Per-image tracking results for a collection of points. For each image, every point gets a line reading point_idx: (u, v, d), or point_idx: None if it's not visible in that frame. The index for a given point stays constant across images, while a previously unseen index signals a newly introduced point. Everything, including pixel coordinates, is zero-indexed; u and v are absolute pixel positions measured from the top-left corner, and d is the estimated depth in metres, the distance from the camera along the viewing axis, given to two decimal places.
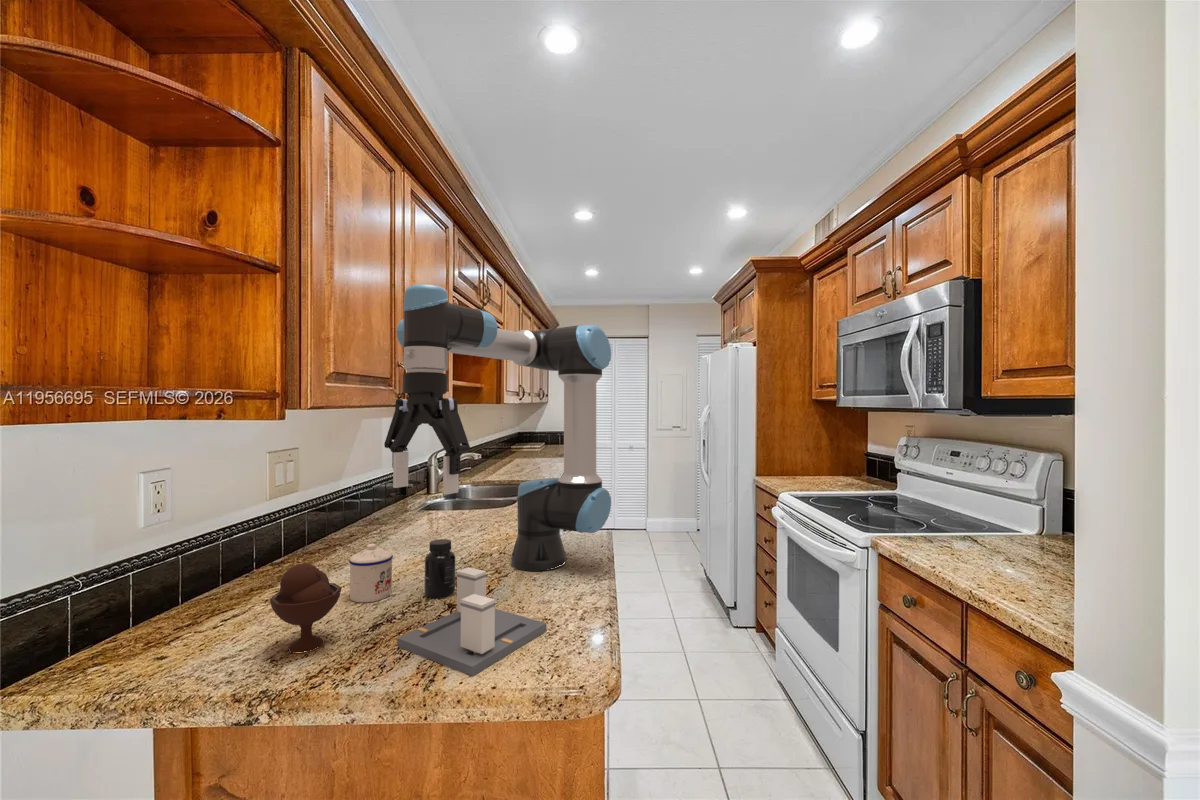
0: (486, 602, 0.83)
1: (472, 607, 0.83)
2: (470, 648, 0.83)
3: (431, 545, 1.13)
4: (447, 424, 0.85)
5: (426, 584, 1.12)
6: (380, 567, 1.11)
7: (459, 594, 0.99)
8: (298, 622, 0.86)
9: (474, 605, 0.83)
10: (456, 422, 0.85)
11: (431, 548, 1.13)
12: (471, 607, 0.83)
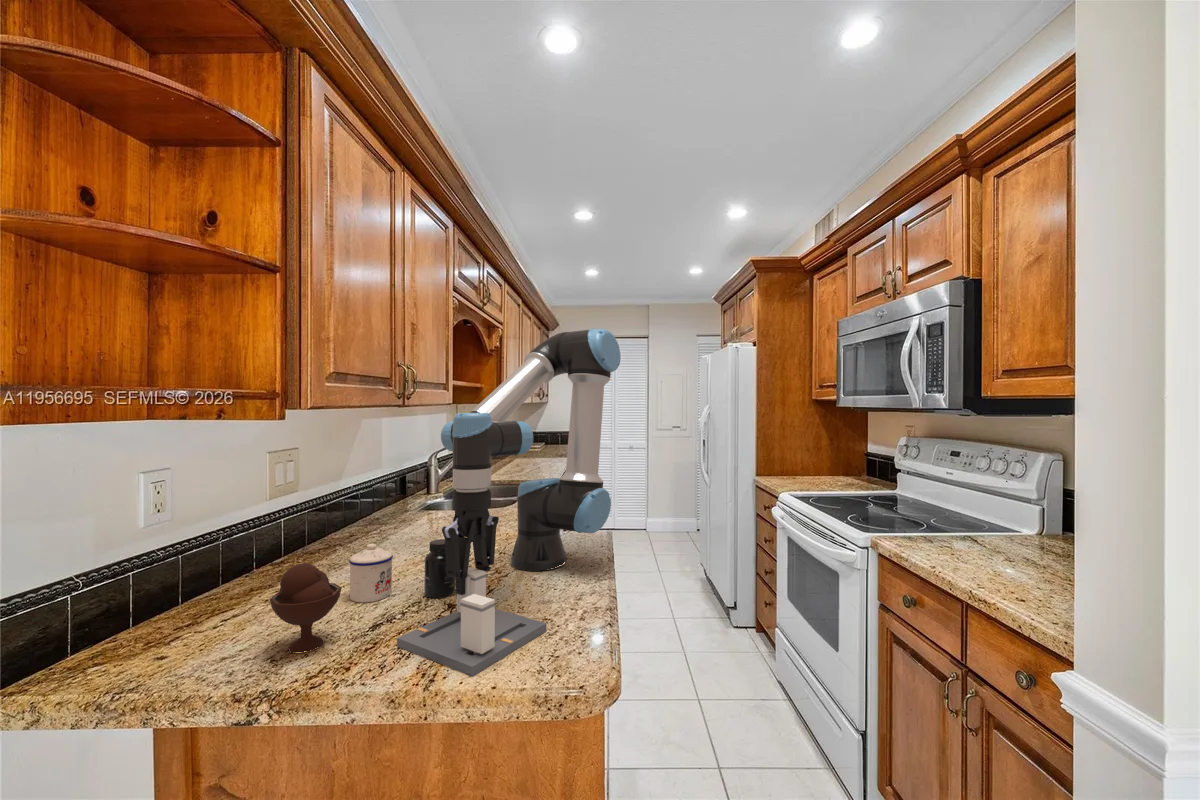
0: (486, 602, 0.83)
1: (472, 607, 0.83)
2: (470, 648, 0.83)
3: (431, 545, 1.13)
4: None
5: (426, 584, 1.12)
6: (380, 567, 1.11)
7: None
8: (298, 622, 0.86)
9: (474, 605, 0.83)
10: (450, 551, 0.95)
11: (431, 548, 1.13)
12: (471, 607, 0.83)
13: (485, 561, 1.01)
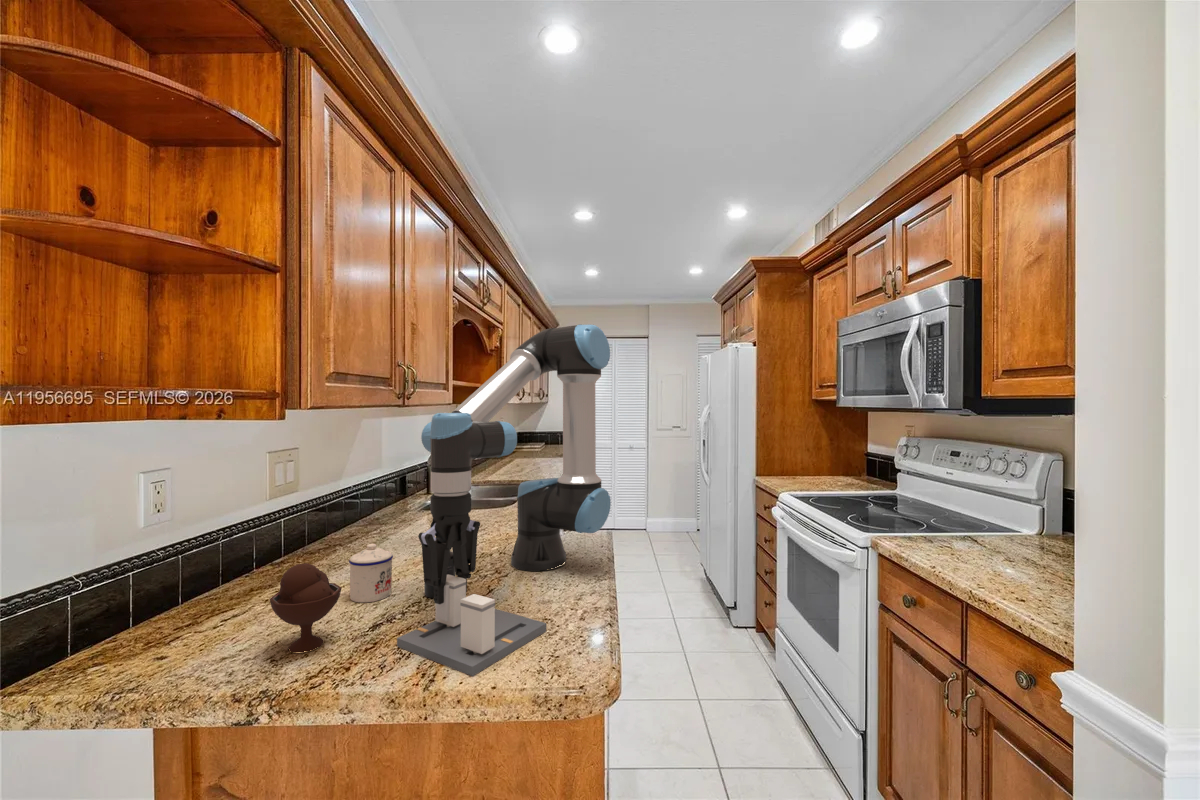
0: (486, 602, 0.83)
1: (472, 607, 0.83)
2: (470, 648, 0.83)
3: None
4: None
5: (426, 584, 1.12)
6: (380, 567, 1.11)
7: None
8: (298, 622, 0.86)
9: (474, 605, 0.83)
10: (427, 558, 0.90)
11: None
12: (471, 607, 0.83)
13: (465, 568, 0.97)
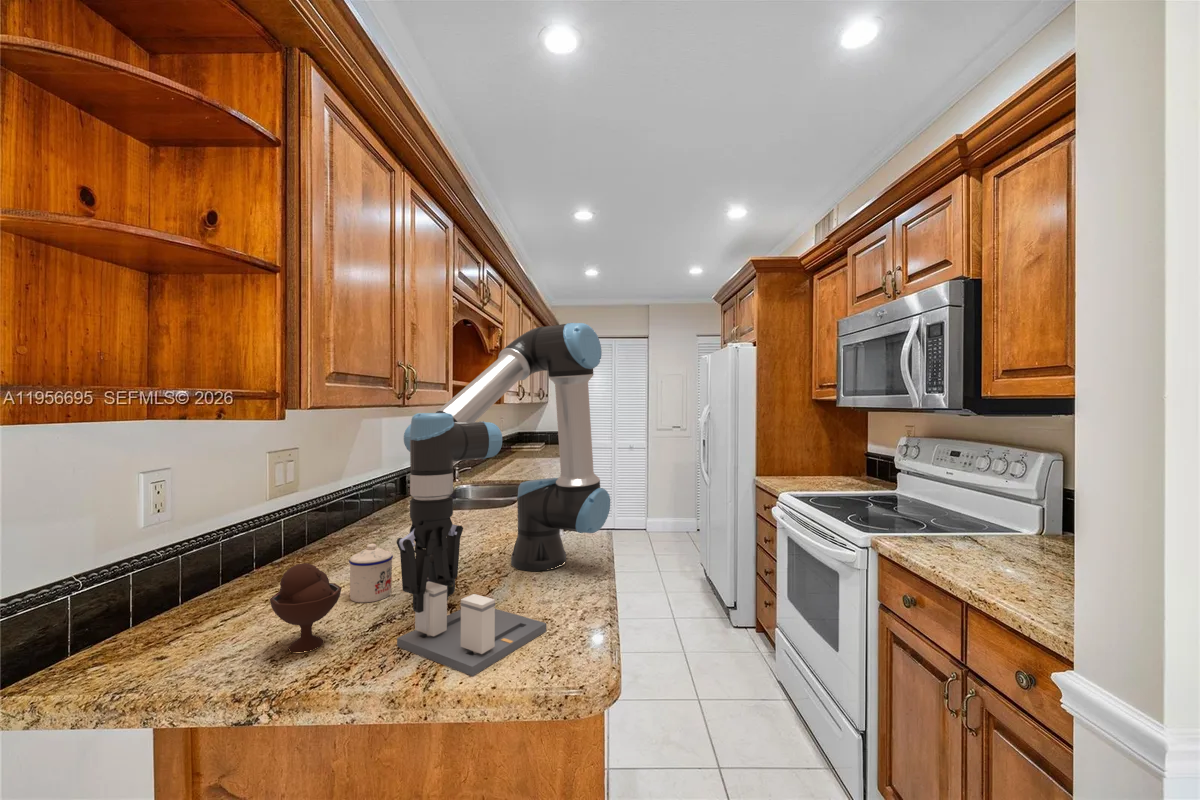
0: (486, 602, 0.83)
1: (472, 607, 0.83)
2: (470, 648, 0.83)
3: None
4: None
5: None
6: (380, 567, 1.11)
7: None
8: (298, 622, 0.86)
9: (474, 605, 0.83)
10: (405, 564, 0.86)
11: None
12: (471, 607, 0.83)
13: (447, 575, 0.93)
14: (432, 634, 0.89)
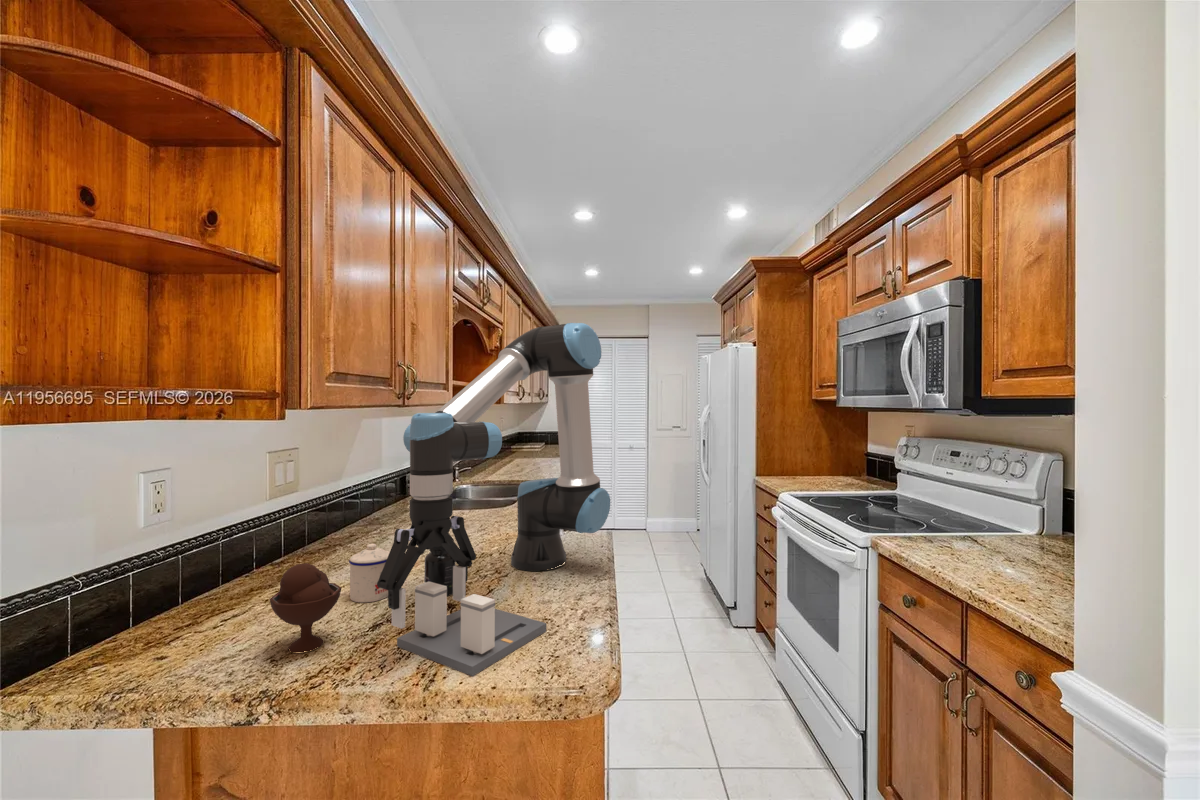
0: (486, 602, 0.83)
1: (472, 607, 0.83)
2: (470, 648, 0.83)
3: None
4: None
5: None
6: (380, 567, 1.11)
7: (417, 611, 0.91)
8: (298, 622, 0.86)
9: (474, 605, 0.83)
10: (393, 556, 0.84)
11: None
12: (471, 607, 0.83)
13: (464, 558, 0.96)
14: (432, 634, 0.89)
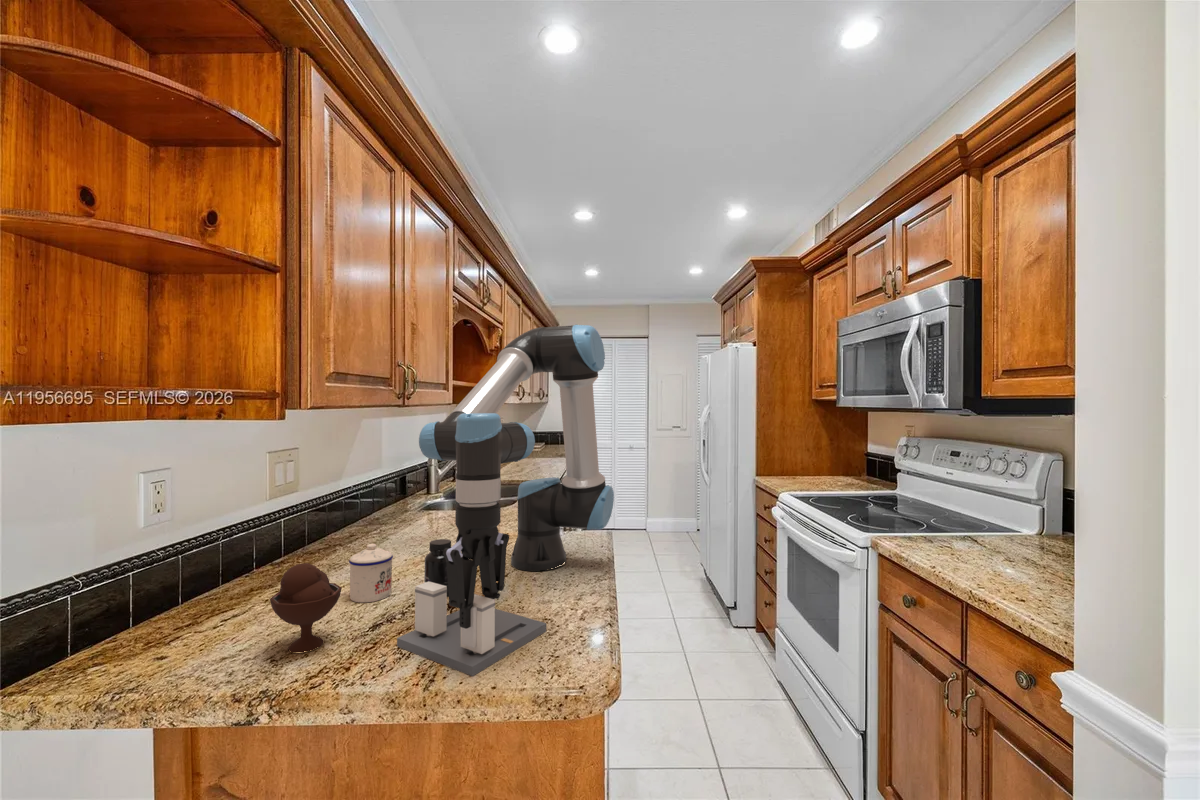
0: (486, 602, 0.83)
1: None
2: (470, 648, 0.83)
3: (431, 545, 1.13)
4: None
5: None
6: (380, 567, 1.11)
7: (417, 611, 0.91)
8: (298, 622, 0.86)
9: (474, 605, 0.83)
10: (452, 577, 0.80)
11: (431, 548, 1.13)
12: None
13: (494, 587, 0.86)
14: (432, 634, 0.89)
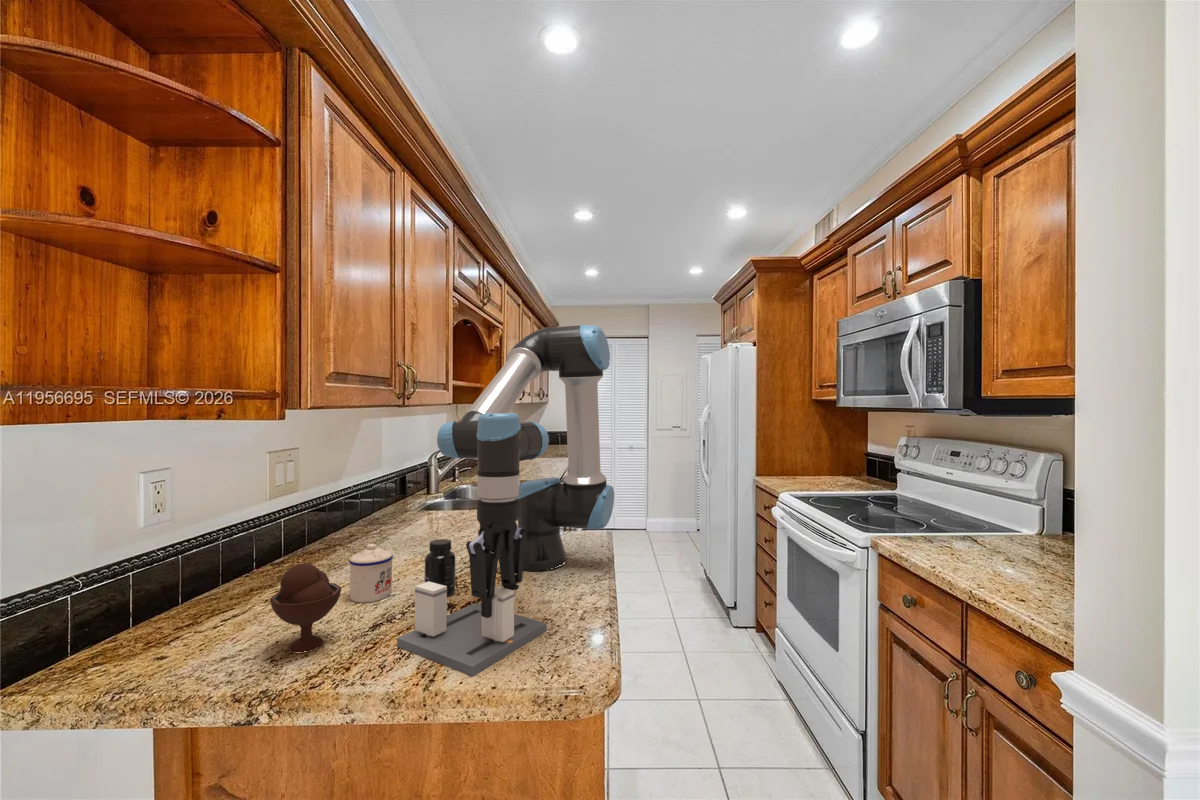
0: (506, 593, 0.88)
1: None
2: (491, 637, 0.88)
3: (431, 545, 1.13)
4: None
5: None
6: (380, 567, 1.11)
7: (417, 611, 0.91)
8: (298, 622, 0.86)
9: (495, 596, 0.87)
10: (475, 568, 0.84)
11: (431, 548, 1.13)
12: None
13: (513, 579, 0.91)
14: (432, 634, 0.89)
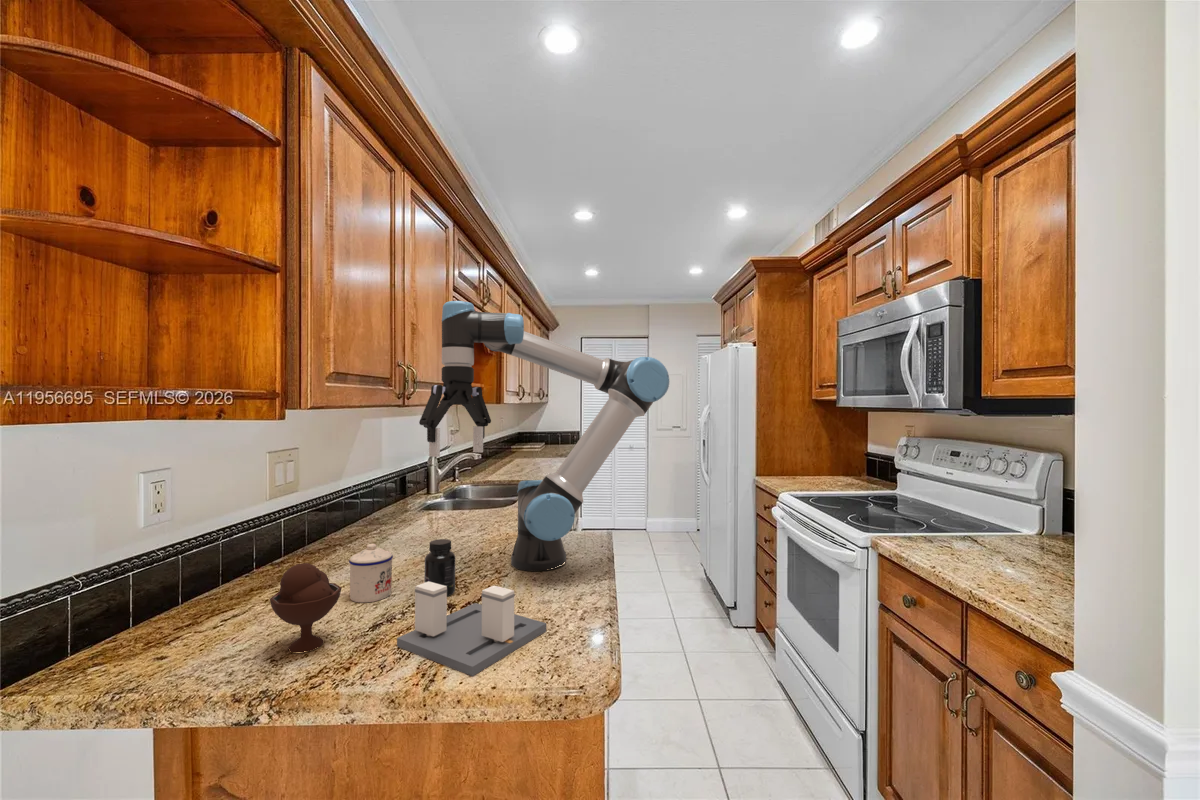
0: (506, 593, 0.88)
1: (493, 598, 0.88)
2: (491, 637, 0.88)
3: (431, 545, 1.13)
4: None
5: None
6: (380, 567, 1.11)
7: (417, 611, 0.91)
8: (298, 622, 0.86)
9: (495, 596, 0.87)
10: (430, 403, 1.13)
11: (431, 548, 1.13)
12: (492, 598, 0.88)
13: (482, 419, 1.25)
14: (432, 634, 0.89)
